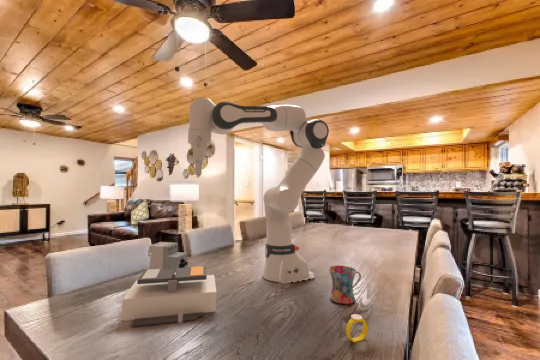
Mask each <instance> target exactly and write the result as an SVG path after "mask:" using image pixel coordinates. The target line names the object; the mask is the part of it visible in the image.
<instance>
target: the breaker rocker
mask: <svg viewBox="0 0 540 360" xmlns="http://www.w3.org/2000/svg"><path fill="white" fill-rule="evenodd" d="M206 277H207V266H203V265H202V266H191V267H190V266H189V267H187V268H177V267H176V268H171V269H150V268H148V269H144V270H143V272H142V273H141V275H140V276H139V277H138V279H136V280H137V284H150V283H164V282H168V281H169V280H177V282H179V281H193V280H206Z"/></svg>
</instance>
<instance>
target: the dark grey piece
mask: <svg viewBox="0 0 540 360" xmlns="http://www.w3.org/2000/svg"><path fill="white" fill-rule="evenodd" d="M204 316H205V313H204V312H198V313H188V314H183V311H179V314H178V315H168V316H158V317H148V318H138V319H134V320H132V322H131V327H133V328H134V327H142V326H151V325H152V326H153V325H161V324H169V323H170V324H171V323H177V324H181V323H184V322H189V321H190V322H191V321H196V320H197V319H198V318H202V317H203V318H204Z"/></svg>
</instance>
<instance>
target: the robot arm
mask: <svg viewBox="0 0 540 360" xmlns="http://www.w3.org/2000/svg"><path fill="white" fill-rule="evenodd" d="M188 122H189V128H188V132H187V133H188V134H187V144H189V145H190V148H191V149H192V160H193V163H194V167H195V169H194V172H195V174H196V176H201V173H202V166H203V165H204V163H205V160H206V159H205V158H206V152H207V149H208V147H209V146H211V145H212V133H214V134H219V135H228V134H229V133H231V132H232V130H233V129H234V128H236V126H238V125H242V124H262V125H263V126H264V128H265V129H266V130H267V131H271V132H272V131H273V132H281V131H282V132H285V131H289V134H290V138H291V142H292V143H293V144H294V146H296V147H297V148H301V152H300V153H299V155H298V156H297V157H296V158H295V160H294V161H293V162H292V163H291V164H290V166H289V167H288V168H287V169H286V171H285V173H284V176H283V177H282V179H281V181H280V182H279V184H278V185H277V186H273V187H272V186H271V187H270V188H268V189H267V190H266V191H265V193H264V194H263V197H262V198H263V205H264V215H265V222H266V243H265V248H264V255H265V256H264V257H265V261H264V266H263V270H262V274H261V277H262V278H263V279H265V280H267V281H271V282H276V283H280V284H285V285H286V284H291V282H293V283H297V281H299V282H303V281H302V280H305V281H309V280H308V279H311V280H314V279H315V274H314V273H313V271H311V270H310V269H309V268H310V267H309V264H308V262H307V261H306V260H305V259H304V257H302V256H301V255H300V254H298V253H297V252H299V250H300V246H299V245H295V244H293V243H292V241H293V239H292V237H293V236H292V235H293V234H292V233H293V232H292V230H293V229H292V227H293V226H292V223H291V219H290V214H289V213H291V212H293V211H295V210H296V209H297V207H298V205H299V203H300V198H301V196H302V194H303V192H304V190H305V188H306V186H307V185H308V184H309V183H310V181H311V180H312V179H313V177H314V176H315V174H316V173H317V172H318V171H319V169H320V168H321V165H322V164H323V162H324V160H325V157H326V155H325V152H324V150H323V148H324V147H325V146H326V142H327V139H328V137H329V134H330V132H329V130H330V129H329V125H328V124H327V123H326V121H324V120H322V119H311V120H310V121H309V120H308V119H307V115H306V111H305V109H304V108H303V107H302V106H298V105H292V104H279V105H278V104H275V105H268V106H265V105H264V106H263V105H261V106H260V105H238V104H236V103H234V102H230V101H227V100H226V101H225V100H224V101H220V102H218V103H216V104H215V103H214V102H213V101H212V100H211V99H210V98H207V97H197V98H195V99H194V100H192V102H191V104H190V107H189V114H188ZM313 278H314V279H313Z"/></svg>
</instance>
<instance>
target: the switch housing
mask: <svg viewBox="0 0 540 360" xmlns="http://www.w3.org/2000/svg"><path fill="white" fill-rule="evenodd" d="M206 275H207V274H206ZM137 280H138V279H136V280H135V282H134V283H133V285H132V286H131V287H130V289H129V290H128V292H127V293H126V294H125V295H124V297H123V298H122V306H121V308H122V309H121V322H127V321H133V320H134V319H138V318H148V317H158V316H168V315H178V314H179V311H183V314H188V313H198V312H204V314H205V313H215V312H217V288H216V287H217V285H216V277H215V274H208V275H207V277H206V280H193V281H179V282H177V280H169V281H168V282H164V283H150V284H137Z"/></svg>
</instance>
